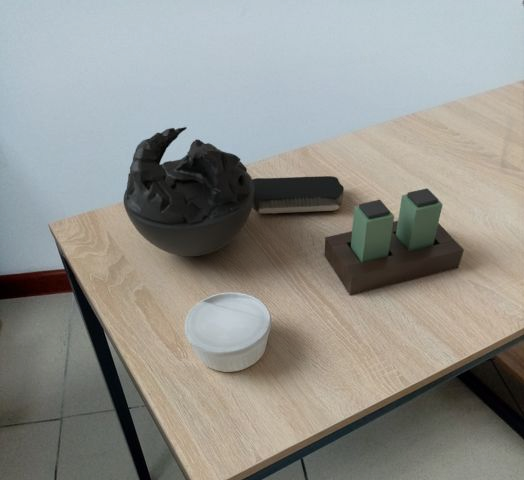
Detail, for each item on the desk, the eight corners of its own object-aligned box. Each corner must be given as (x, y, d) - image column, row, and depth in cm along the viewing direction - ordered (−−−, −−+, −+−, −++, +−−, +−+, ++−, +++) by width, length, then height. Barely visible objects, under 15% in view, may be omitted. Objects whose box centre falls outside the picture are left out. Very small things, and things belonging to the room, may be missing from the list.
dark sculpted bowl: (128, 226, 93) (97, 119, 79) (236, 200, 97) (225, 93, 83) (151, 296, 80) (120, 184, 66) (275, 263, 84) (270, 150, 70)
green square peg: (373, 256, 84) (381, 196, 76) (385, 272, 81) (395, 212, 73) (349, 262, 83) (354, 202, 75) (360, 278, 80) (367, 218, 72)
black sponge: (249, 219, 92) (248, 200, 89) (250, 193, 98) (249, 174, 95) (343, 215, 92) (345, 197, 89) (339, 189, 97) (340, 171, 95)
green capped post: (416, 245, 85) (428, 185, 77) (429, 260, 82) (443, 200, 74) (392, 250, 84) (402, 191, 76) (405, 266, 82) (416, 206, 74)
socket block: (458, 268, 81) (464, 249, 78) (349, 295, 78) (351, 277, 75) (425, 231, 87) (429, 213, 85) (324, 255, 84) (325, 237, 82)
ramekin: (265, 313, 76) (263, 285, 72) (279, 372, 69) (278, 344, 65) (187, 325, 75) (181, 297, 71) (193, 385, 68) (187, 358, 64)
